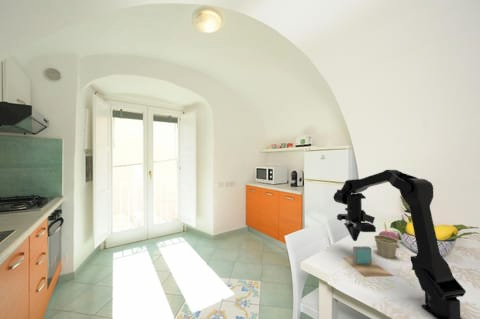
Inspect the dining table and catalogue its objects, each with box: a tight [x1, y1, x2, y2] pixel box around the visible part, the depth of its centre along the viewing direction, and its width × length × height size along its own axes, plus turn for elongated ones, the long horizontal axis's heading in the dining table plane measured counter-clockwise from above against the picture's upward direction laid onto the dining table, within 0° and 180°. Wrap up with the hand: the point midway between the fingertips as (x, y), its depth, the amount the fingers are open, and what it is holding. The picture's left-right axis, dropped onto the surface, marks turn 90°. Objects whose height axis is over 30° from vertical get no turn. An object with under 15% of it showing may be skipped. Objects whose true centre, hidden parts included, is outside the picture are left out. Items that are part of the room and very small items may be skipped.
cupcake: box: [378, 221, 400, 241], centre depth 101 cm, size 9×8×12 cm
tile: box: [352, 245, 373, 265], centre depth 79 cm, size 2×7×7 cm, turn 92°
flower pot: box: [373, 234, 400, 259], centre depth 87 cm, size 9×9×9 cm
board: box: [342, 257, 394, 278], centre depth 77 cm, size 14×12×1 cm
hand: (354, 240), depth 84 cm, fingers closed
